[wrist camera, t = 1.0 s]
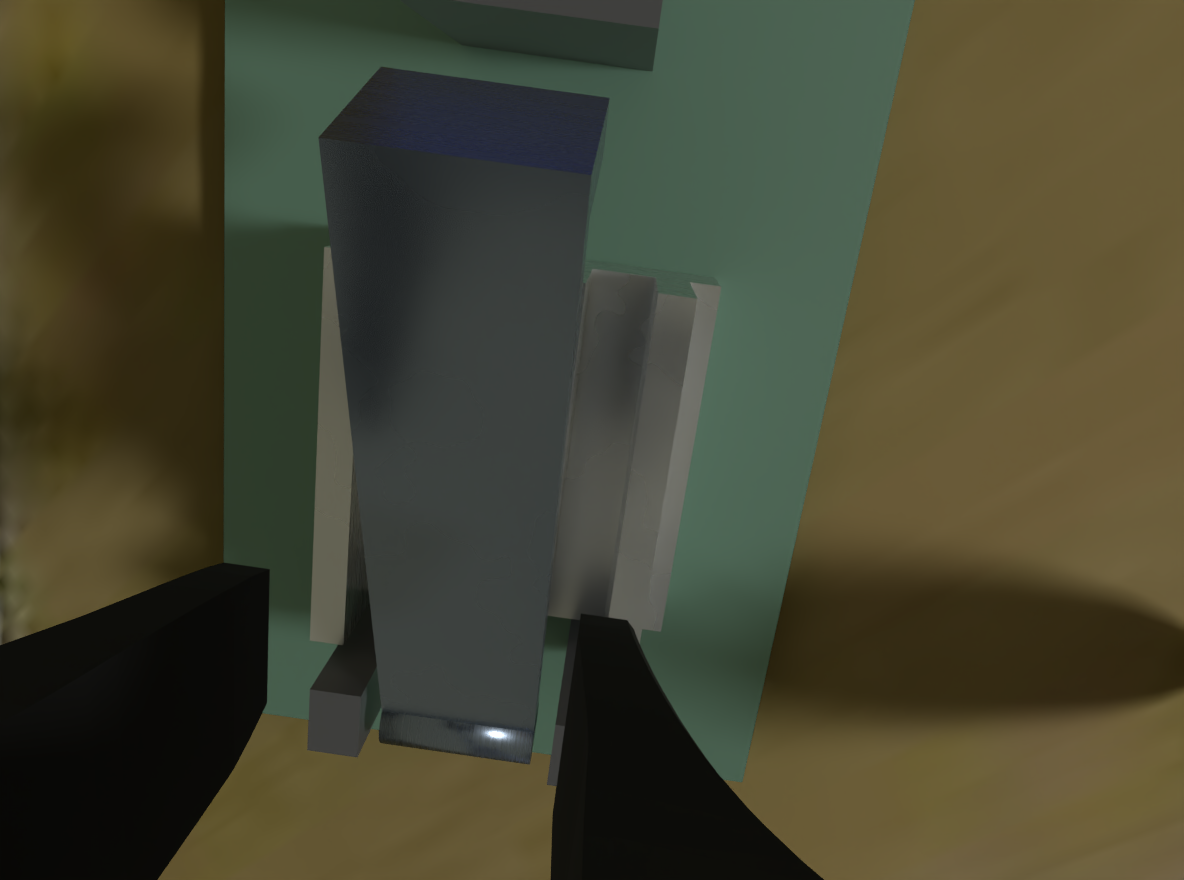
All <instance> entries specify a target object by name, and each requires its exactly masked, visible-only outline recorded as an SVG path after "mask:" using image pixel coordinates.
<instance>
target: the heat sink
mask: <svg viewBox="0 0 1184 880" xmlns="http://www.w3.org/2000/svg"><path fill="white" fill-rule="evenodd" d="M720 292H721V285H720V284H719V283H718V281H717V280H716V278H715V277H708V276H700V275H693V274H686V273H679V272H672V271H664V270H657V269H650V268H643V267H636V266H628V265H621V264H614V263H607V262H599V261H592V260H585V268H584V278H583V287H582V296H581V306H580V315H579V325H578V334H577V343H576V353H575V362H574V372H573V381H572V390H571V400H570V409H569V419H568V428H567V437H566V447H565V456H564V466H563V475H562V484H561V494H560V503H559V513H558V522H557V531H556V541H555V550H554V560H553V569H552V579H551V588H550V597H549V607H548V616H554V617H561V618H568V619H575V620H580V617H581V614H588V615H595V616H602V617H609V618H616V619H623V620H628V622H629V623H630V625H631V626H632V627H633V629H634V631H635V634H636V636H637V639H638V641H639V644H640V639H641V633H642V629H645V630H652V631H659V632H661V628H662V623H663V617H664V611H665V606H666V600H667V594H668V588H669V583H670V577H671V571H672V566H673V560H674V554H675V549H676V543H677V537H678V531H679V526H680V520H681V514H682V509H683V503H684V497H685V492H686V486H687V480H688V474H689V469H690V463H691V457H692V452H693V446H694V440H695V435H696V429H697V423H698V417H699V412H700V406H701V400H702V395H703V389H704V383H705V378H706V372H707V366H708V360H709V355H710V349H711V343H712V338H713V332H714V326H715V321H716V315H717V309H718V303H719V298H720ZM369 603H370V600H369V590H368V581H367V572H366V563H365V554H364V545H363V536H362V527H361V518H360V509H359V500H358V491H357V482H356V473H355V464H354V455H353V446H352V437H351V428H350V419H349V410H348V401H347V392H346V383H345V374H344V365H343V356H342V346H341V337H340V328H339V319H338V310H337V301H336V292H335V283H334V274H333V265H332V256H331V247H330V246H326V247H324V267H323V294H322V321H321V348H320V376H319V403H318V430H317V458H316V485H315V512H314V539H313V567H312V594H311V621H310V641H317V642H324V643H331V644H338V645H344V644H345V642H346V640H347V639H348V637H349V635H350V634H351V632H352V631H353V629H354V627H355V626H356V624H357V623H358V621H359V619H360V618H361V616H362V615H363V613H364V611H365V610H366V608H367V607H368V605H369Z"/></svg>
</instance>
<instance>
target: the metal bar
mask: <svg viewBox="0 0 1184 880" xmlns="http://www.w3.org/2000/svg"><path fill="white" fill-rule="evenodd" d="M609 101H610V98H607V97H599V96H592V95H585V94H577V93H570V92H563V91H555V90H548V89H541V88H533V87H526V86H519V85H512V84H504V83H497V82H490V81H482V80H475V79H468V78H460V77H453V76H446V75H439V74H431V73H424V72H417V71H409V70H402V69H395V68H387V67H380V68H379V69H378V70H377V71H376V73H375V74H374V75H373V76H372V77H371V78H370V79H369V81H368V82H367V83H366V84H365V85H364V86H363V87H362V89H361V90H360V91H359V92H358V93H357V94H356V95H355V96H354V98H353V99H352V100H351V101H350V102H349V103H348V104H347V106H346V107H345V108H344V109H343V110H342V111H341V112H340V114H339V115H338V116H337V117H336V118H335V119H334V120H333V121H332V123H331V124H330V125H329V126H328V127H327V128H326V129H325V131H324V132H323V133H322V134H321V135H320V136H319V137H318V139H319V148H320V157H321V166H322V175H323V184H324V193H325V202H326V211H327V220H328V229H329V238H330V247H331V256H332V265H333V274H334V283H335V292H336V301H337V310H338V319H339V328H340V337H341V346H342V356H343V365H344V374H345V383H346V392H347V401H348V410H349V419H350V428H351V437H352V446H353V455H354V464H355V473H356V482H357V491H358V500H359V509H360V518H361V527H362V536H363V545H364V554H365V563H366V572H367V581H368V590H369V600H370V609H371V618H372V627H373V636H374V645H375V654H376V663H377V672H378V681H379V690H380V699H381V708H382V713H381V719H380V726H379V741H380V743H384V744H391V745H398V746H405V747H412V748H418V749H425V750H432V751H439V752H446V753H453V754H460V755H467V756H474V757H481V758H488V759H495V760H502V761H508V762H515V763H522V764H529V765H530V761H531V755H532V749H533V743H534V737H535V730H536V723H537V716H538V708H539V702H538V701H539V691H540V682H541V673H542V663H543V654H544V644H545V635H546V626H547V616H548V607H549V597H550V588H551V579H552V569H553V560H554V550H555V541H556V531H557V522H558V513H559V503H560V494H561V484H562V475H563V466H564V456H565V447H566V437H567V428H568V419H569V409H570V400H571V390H572V381H573V372H574V362H575V353H576V343H577V334H578V325H579V315H580V306H581V296H582V287H583V278H584V268H585V259H586V249H587V240H588V231H589V221H590V215H591V210H592V206H593V201H594V197H595V192H596V188H597V183H598V179H599V174H600V170H601V165H602V161H603V155H604V146H605V137H606V128H607V119H608V110H609Z"/></svg>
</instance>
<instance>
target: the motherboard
mask: <svg viewBox="0 0 1184 880" xmlns="http://www.w3.org/2000/svg"><path fill="white" fill-rule="evenodd" d="M914 1H915V0H663V2H662V9H661V16H660V23H659V30H658V37H657V44H656V51H655V58H654V65H653V71H647V70H639V69H632V68H625V67H617V66H610V65H603V64H596V63H588V62H581V61H574V60H566V59H559V58H552V57H544V56H537V55H530V54H522V53H515V52H508V51H500V50H493V49H486V48H478V47H471V46H464V45H461V44H460V43H458V42H457V41H455V40H454V39H453V38H451V37H450V36H448V35H447V34H446V33H444V32H443V31H441V30H440V29H439V28H437V27H436V26H435V25H433V24H432V23H430V22H429V21H428V20H426V19H425V18H423V17H422V16H421V15H419V14H418V13H416V12H415V11H414V10H412V9H411V8H410V7H408V6H407V5H405V4H404V3H403V2H401V1H400V0H225V211H224V563H231V564H238V565H245V566H252V567H259V568H266V569H270V585H269V634H268V684H267V704H266V706H265V708H264V710H263V712H262V713H266V714H273V715H279V716H286V717H293V718H300V719H307V720H309V697H310V688H311V687H312V685H313V684H314V682H315V680H316V679H317V677H318V676H319V674H320V673H321V671H322V669H323V668H324V666H325V665H326V663H327V661H328V660H329V658H330V657H331V655H332V654H333V652H334V650H335V649H336V647H337V646H338V644H331V643H324V642H317V641H310V621H311V594H312V567H313V539H314V512H315V485H316V458H317V430H318V403H319V376H320V348H321V321H322V294H323V267H324V247H326V246H330V238H329V229H328V220H327V211H326V202H325V193H324V184H323V175H322V166H321V157H320V148H319V139H318V137H319V136H320V135H321V134H322V133H323V132H324V131H325V129H326V128H327V127H328V126H329V125H330V124H331V123H332V121H333V120H334V119H335V118H336V117H337V116H338V115H339V114H340V112H341V111H342V110H343V109H344V108H345V107H346V106H347V104H348V103H349V102H350V101H351V100H352V99H353V98H354V96H355V95H356V94H357V93H358V92H359V91H360V90H361V89H362V87H363V86H364V85H365V84H366V83H367V82H368V81H369V79H370V78H371V77H372V76H373V75H374V74H375V73H376V71H377V70H378V69H379V68H380V67H387V68H395V69H402V70H409V71H417V72H424V73H431V74H439V75H446V76H453V77H460V78H468V79H475V80H482V81H490V82H497V83H504V84H512V85H519V86H526V87H533V88H541V89H548V90H555V91H563V92H570V93H577V94H585V95H592V96H599V97H607V98H610V101H609V110H608V119H607V128H606V137H605V146H604V155H603V161H602V165H601V170H600V174H599V179H598V183H597V188H596V192H595V197H594V201H593V206H592V210H591V215H590V221H589V231H588V240H587V249H586V259H585V260H592V261H599V262H607V263H614V264H621V265H628V266H636V267H643V268H650V269H657V270H664V271H672V272H679V273H686V274H693V275H700V276H708V277H715V278H716V280H717V281H718V283H719V284H720V285H721V292H720V298H719V303H718V309H717V315H716V321H715V326H714V332H713V338H712V343H711V349H710V355H709V360H708V366H707V372H706V378H705V383H704V389H703V395H702V400H701V406H700V412H699V417H698V423H697V429H696V435H695V440H694V446H693V452H692V457H691V463H690V469H689V474H688V480H687V486H686V492H685V497H684V503H683V509H682V514H681V520H680V526H679V531H678V537H677V543H676V549H675V554H674V560H673V566H672V571H671V577H670V583H669V588H668V594H667V600H666V606H665V611H664V617H663V623H662V628H661V632H659V631H652V630H645V629H642V633H641V639H640V646H641V648H642V650H643V653H644V655H645V657H646V659H647V661H648V663H649V665H650V667H651V669H652V671H653V673H654V675H655V677H656V679H657V681H658V683H659V684H660V686H661V688H662V690H663V691H664V693H665V695H666V697H667V698H668V700H669V702H670V703H671V705H672V707H673V708H674V710H675V712H676V714H677V715H678V717H679V719H680V720H681V722H682V723H683V725H684V726H685V728H686V729H687V731H688V732H689V734H690V735H691V737H692V738H693V740H694V741H695V743H696V744H697V745H698V747H699V748H700V750H701V751H702V753H703V754H704V756H705V757H706V758H707V760H708V761H709V762H710V764H711V765H712V766H713V768H714V769H715V770H716V772H717V773H718V774H719V775H720V777H721V778H722V779H723V780H730V781H737V782H742V781H743V776H744V772H745V767H746V763H747V758H748V753H749V749H750V744H751V740H752V735H753V731H754V726H755V722H756V717H757V713H758V708H759V704H760V699H761V695H762V690H763V685H764V681H765V676H766V672H767V667H768V663H769V658H770V654H771V649H772V645H773V640H774V636H775V631H776V627H777V622H778V618H779V613H780V608H781V604H782V599H783V595H784V590H785V586H786V581H787V577H788V572H789V568H790V563H791V559H792V554H793V550H794V545H795V540H796V536H797V531H798V527H799V522H800V518H801V513H802V509H803V504H804V500H805V495H806V491H807V486H808V482H809V477H810V472H811V468H812V463H813V459H814V454H815V450H816V445H817V441H818V436H819V432H820V427H821V423H822V418H823V414H824V409H825V404H826V400H827V395H828V391H829V386H830V382H831V377H832V373H833V368H834V364H835V359H836V355H837V350H838V346H839V341H840V337H841V332H842V327H843V323H844V318H845V314H846V309H847V305H848V300H849V296H850V291H851V287H852V282H853V278H854V273H855V269H856V264H857V259H858V255H859V250H860V246H861V241H862V237H863V232H864V228H865V223H866V219H867V214H868V210H869V205H870V201H871V196H872V191H873V187H874V182H875V178H876V173H877V169H878V164H879V160H880V155H881V151H882V146H883V142H884V137H885V133H886V128H887V124H888V119H889V114H890V110H891V105H892V101H893V96H894V92H895V87H896V83H897V78H898V74H899V69H900V65H901V60H902V56H903V51H904V46H905V42H906V37H907V33H908V28H909V24H910V19H911V15H912V10H913V6H914ZM570 623H571V619H568V618H561V617H554V616H547V626H546V635H545V644H544V654H543V663H542V673H541V682H540V691H539V701H538V702H539V708H538V716H537V723H536V730H535V737H534V743H533V749H532V752H536V753H543V754H550V755H551V753H552V746H553V738H554V731H555V724H556V717H557V711H558V704H559V697H560V690H561V684H562V677H563V670H564V664H565V657H566V650H567V644H568V637H569V630H570ZM381 713H382V708H381V709H380V711H379V713H378V715H377V717H376V719H375V721H374V723H373V726H372V728H371V729H377V730H379V726H380V719H381Z"/></svg>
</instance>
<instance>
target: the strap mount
mask: <svg viewBox="0 0 1184 880" xmlns="http://www.w3.org/2000/svg"><path fill="white" fill-rule="evenodd" d="M400 1H401V2H403V3H404V4H405V5H407V6H408V7H410V8H411V9H412V10H414V11H415V12H416V13H418V14H419V15H421V16H422V17H423V18H425V19H426V20H428V21H429V22H430V23H432V24H433V25H435V26H436V27H437V28H439V29H440V30H441V31H443V32H444V33H446V34H447V35H448V36H450V37H451V38H453V39H454V40H455V41H457V42H458V43H460V44H461V45H464V46H471V47H478V48H486V49H493V50H500V51H508V52H515V53H522V54H530V55H537V56H544V57H552V58H559V59H566V60H574V61H581V62H588V63H596V64H603V65H610V66H617V67H625V68H632V69H639V70H647V71H653V65H654V58H655V51H656V44H657V37H658V30H659V23H660V16H661V9H662V2H663V0H400ZM579 624H580V620H575V619H571V623H570V630H569V637H568V644H567V650H566V657H565V664H564V670H563V677H562V684H561V690H560V697H559V704H558V711H557V717H556V724H555V731H554V738H553V746H552V753H551V760H550V767H549V774H548V782H547V785H553V786H557V780H558V772H559V765H560V757H561V750H562V743H563V736H564V729H565V722H566V715H567V708H568V701H569V694H570V687H571V680H572V673H573V666H574V659H575V652H576V645H577V638H578V631H579ZM380 709H381V699H380V690H379V681H378V672H377V663H376V654H375V645H374V636H373V627H372V618H371V609H370V603H369V605H368V607H367V608H366V610H365V611H364V613H363V615H362V616H361V618H360V619H359V621H358V623H357V624H356V626H355V627H354V629H353V631H352V632H351V634H350V635H349V637H348V639H347V640H346V642H345V644H344V645H338V646H337V647H336V649H335V650H334V652H333V654H332V655H331V657H330V658H329V660H328V661H327V663H326V665H325V666H324V668H323V669H322V671H321V673H320V674H319V676H318V677H317V679H316V680H315V682H314V684H313V685H312V687H311V688H310V697H309V724H308V750H311V751H318V752H325V753H332V754H338V755H345V756H352V757H358V755H359V753H360V751H361V749H362V746H363V744H364V742H365V740H366V738H367V736H368V734H369V732H370V730H371V728H372V726H373V723H374V721H375V719H376V717H377V715H378V713H379V711H380Z"/></svg>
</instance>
